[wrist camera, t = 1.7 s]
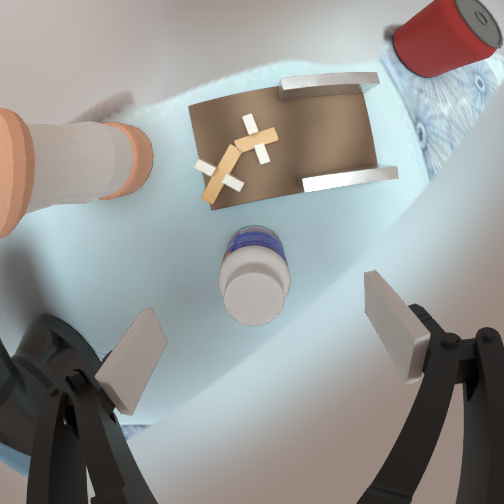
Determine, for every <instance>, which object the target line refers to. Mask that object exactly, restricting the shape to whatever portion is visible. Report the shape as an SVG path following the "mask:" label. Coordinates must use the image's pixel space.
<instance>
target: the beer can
mask: <svg viewBox="0 0 504 504" xmlns="http://www.w3.org/2000/svg"><path fill="white" fill-rule="evenodd" d="M502 45H503V37H502V33H501V30H500V28H499V26H498V23H497V22H496V21H495V18H494V17H493V15H492V14H491V13H490V12H489V10H488V9H487V8H486V7H485V6H484V5H483V4H482V3H481V2H480V1H479V0H434V1H433V2H432V3H430V4H429V5H428V6H426V7H425V8H424V9H423V10H421V11H420V12H419V13H418V14H416V15H415V16H414V17H412V18H411V19H410V20H409V21H408V22H407V23H405V24H404V25H403V26H402V27H400V28H399V29H398V30H397V31H396V33H395V35H394V46H395V49H396V52H397V54H398V55H399V57H400V58H401V60H402V61H403V62H404V63H405V64H406V66H407V67H408V68H410V69H411V70H412V71H414V72H415V73H417V74H419V75H421V76H424V77H434V76H438V75H440V74H443V73H445V72H448V71H451V70H454V69H456V68H459V67H462V66H465V65H468V64H471V63H474V62H477V61H480V60H483V59H486V58H489V57H490V56H492V55H493V53H494V52H495V51H496V49H497V48H501V46H502Z"/></svg>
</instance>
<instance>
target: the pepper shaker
mask: <svg viewBox="0 0 504 504" xmlns="http://www.w3.org/2000/svg"><path fill="white" fill-rule="evenodd" d="M152 163H153V151H152V146H151V143H150V141H149V139H148V138H147V136H146V135H145V134H144V133H143V132H142V131H141V130H140V129H138V128H136V127H133V126H130V125H126V124H121V123H117V122H106V123H102V124H101V123H96V122H92V121H89V122H80V123H72V124H65V125H45V124H25V123H24V121H23V120H22V119H21V118H20V116H19V115H18V114H16V113H14V112H13V111H11V110H8V109H4V108H0V239H1V238H3V237H5V236H7V235H9V234H10V232H11V231H12V230H13V229H14V228H15V227H16V226H17V224H18V223H19V221H20V220H21V219H22V217H23V216H24V215H25V214H26V213H30V212H33V211H36V210H39V209H42V208H45V207H49V206H52V205H57V204H80V203H88V202H90V201H93V200H96V199H101V200H110V199H113V198H116V197H120V196H123V195H126V194H130V193H133V192H134V191H136V190H137V189H139V188H140V187H141V186H142V185H143V184H144V182H145V181H146V180H147V178H148V176H149V174H150V171H151V169H152Z"/></svg>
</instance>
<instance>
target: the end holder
mask: <svg viewBox="0 0 504 504" xmlns="http://www.w3.org/2000/svg"><path fill="white" fill-rule="evenodd" d="M378 84H380V82H379V78H378V75H377V72H348V73H327V74H313V75H303V76H294V77H286V78H280V82H279V86H278V90H277V93H278V97H279V101H286V100H294V99H301V98H310V97H319V96H330V95H344V94H363V93H365V92H366V91H368V90H370V89H371V88H373V87H375V86H376V85H378ZM397 178H398V170H397V166H388V165H372V166H364V167H356V168H348V169H341V170H334V171H327V172H321V173H314V174H308V175H302V176H296V180H297V185H298V188H299V189H301V190H303V191H304V192H309V191H315V190H321V189H327V188H334V187H340V186H346V185H353V184H360V183H367V182H374V181H382V180H389V179H397Z"/></svg>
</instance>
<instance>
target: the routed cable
mask: <svg viewBox="0 0 504 504" xmlns="http://www.w3.org/2000/svg"><path fill="white" fill-rule="evenodd" d="M242 118H243V121H244V123H245V126H246V128H247V131H248V134H249V136H246V137H243V138H240V139H238V140H235V141H234V142H235V145H236V147H235V146H233V145H231V144H230V145H229V147H228V149H227V151H226V152H225V154H224V156H223V158H222V160H221V161H220V163H219V165H218V166H216V165H214V164H212V163H210V162H209V161H207V160H205V159H198V161H197V163H196V165H195V167H194V168H195V169H197V170H199V171H201V172H203V173H205V174H207V175H209V176H212V178H211V180H210V182H209V184H208V185H207V187H206V189H205V191H204V193H203V195H202V197H201V199H203V200H205V201H207V202H209V203H210V204H212V205H213V204H214V203H215V202H216V200H217V198H218V196H219V194H220V192H221V190H222V189H223V187H224V185H225V184H226V185H228V186H229V187H231V188H233V189H235V190H237V191H239V192H240V190H241V189H242V187H243V186H244V184H245V182H246V181H244V180H242V179H241V178H239V177H237V176H235V175H233V174H231V172H232V170H233V169H234V167H235V165H236V163H237V162H238V160H239V158H240V156H241V155H242V153H245V152H247V151H250V150H253V149H255V151H256V154H257V156H258V159H259V162H260V164H264V163H267V162H270V159H269V157H268V154H267V151H266V148H265V145H268V144H271V143H274V142H277V141H279V139H278V136H277V134H276V131H275V129H274V127H273V128H270V129H267V130H264V131H261V132H259V131H258V129H257V126H256V123H255V121H254V118H253V116H252V113H251V114H248V115H245V116H243V117H242Z"/></svg>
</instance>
